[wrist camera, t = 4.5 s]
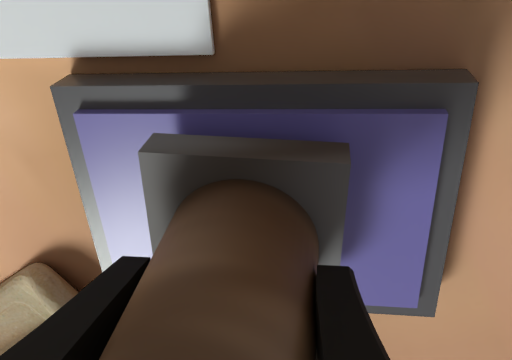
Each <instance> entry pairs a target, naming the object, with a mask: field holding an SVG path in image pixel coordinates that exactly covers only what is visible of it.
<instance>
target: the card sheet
mask: <svg viewBox="0 0 512 360" xmlns="http://www.w3.org/2000/svg"><path fill="white" fill-rule="evenodd" d="M214 53H215V50H214V40H213V30H212V19H211V9H210V0H0V59H11V58H64V57H118V56H171V55H213V54H214Z"/></svg>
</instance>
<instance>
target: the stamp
mask: <svg viewBox="0 0 512 360" xmlns="http://www.w3.org/2000/svg"><path fill="white" fill-rule="evenodd" d="M138 157H139V164H140V171H141V178H142V185H143V192H144V199H145V205H146V212H147V219H148V226H149V233H150V240H151V247H152V253H153V256H152V258H151V260H150V262H149V264H148V266H147V268H146V270H145V272H144V274H143V276H142V277H141V279H140V281H139V283H138V285H137V287H136V289H135V291H134V293H133V295H132V297H131V299H130V301H129V303H128V304H127V306H126V308H125V310H124V312H123V314H122V316H121V318H120V320H119V322H118V324H117V326H116V328H115V330H114V332H113V333H112V335H111V337H110V339H109V341H108V343H107V345H106V347H105V349H104V351H103V353H102V355H101V357H100V359H99V360H316V276H317V265H333V266H340V262H341V252H342V243H343V234H344V224H345V215H346V206H347V197H348V187H349V178H350V169H351V159H350V148H349V143H343V142H323V141H303V140H284V139H264V138H244V137H225V136H205V135H185V134H166V133H153V134H152V135H151V136H150V137H149V139H148V140H147V141H146V142H145V144H144V145H143V146H142V147H141V149H140V150H139V151H138Z"/></svg>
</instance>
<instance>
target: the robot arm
mask: <svg viewBox="0 0 512 360" xmlns="http://www.w3.org/2000/svg"><path fill="white" fill-rule="evenodd" d="M150 260H151V259H150V257H134V256H122V257H121V258H119V259H118V260H117V261H116V262H114V263H113V264H112V265H111V266H109V267H108V268H107V269H106V270H105V271H104V272H102V273H101V274H100V275H99V276H98V277H96V278H95V279H94V280H93V281H92V282H91V283H89V284H88V285H87V286H86V287H85V288H84V289H82V290H81V291H80V292H79V293H78V294H77V295H75V296H74V297H73V298H72V299H71V300H69V301H68V302H67V303H66V304H65V305H63V306H62V307H61V308H60V309H59V310H57V311H56V312H55V313H54V314H53V315H51V316H50V317H49V318H48V319H47V320H45V321H44V322H43V323H42V324H41V325H39V326H38V327H37V328H36V329H34V330H33V331H32V332H30V333H29V334H28V335H26V336H25V337H24V338H23V339H21V340H20V341H19V342H17V343H16V344H15V345H13V346H12V347H11V348H10V349H8V350H7V351H6V352H4V353H3V354H2V355H0V360H99V359H100V357H101V355H102V353H103V351H104V349H105V347H106V345H107V343H108V341H109V339H110V337H111V335H112V333H113V332H114V330H115V328H116V326H117V324H118V322H119V320H120V318H121V316H122V314H123V312H124V310H125V308H126V306H127V304H128V303H129V301H130V299H131V297H132V295H133V293H134V291H135V289H136V287H137V285H138V283H139V281H140V279H141V277H142V276H143V274H144V272H145V270H146V268H147V266H148V264H149V262H150ZM316 360H390V358H389V356H388V354H387V352H386V350H385V348H384V346H383V344H382V342H381V340H380V338H379V336H378V334H377V332H376V330H375V328H374V326H373V323H372V321H371V319H370V317H369V314H368V312H367V309H366V307H365V305H364V302H363V299H362V297H361V294H360V291H359V288H358V285H357V282H356V279H355V275H354V271H353V270H352V269H351V268H350V267H349V266H333V265H317V276H316Z"/></svg>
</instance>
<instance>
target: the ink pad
mask: <svg viewBox="0 0 512 360" xmlns="http://www.w3.org/2000/svg"><path fill="white" fill-rule="evenodd" d="M478 84H479V82H478V81H477V80H476V79H475V78H474V77H473V76H472V74H471V73H470V72H469V71H468V70H467V69H444V70H367V71H290V72H213V73H136V74H69V75H68V76H66V77H64V78H63V79H61V80H60V81H58V82H56V83H55V84H53V85H51V86H50V89H51V92H52V96H53V99H54V103H55V106H56V110H57V113H58V117H59V121H60V124H61V128H62V131H63V135H64V138H65V142H66V145H67V149H68V153H69V156H70V160H71V163H72V167H73V170H74V174H75V177H76V181H77V185H78V188H79V192H80V195H81V199H82V202H83V206H84V209H85V213H86V216H87V220H88V224H89V227H90V231H91V234H92V238H93V241H94V245H95V248H96V252H97V256H98V259H99V263H100V266H101V270H102V272H104V271H105V270H106V269H107V268H108V267H109V266H111V265H112V264H113V263H114V262H116V261H117V260H118V259H119V258H121V257H122V256H134V257H150V259H151V258H152V256H153V253H152V247H151V240H150V233H149V226H148V219H147V212H146V205H145V199H144V192H143V185H142V178H141V171H140V164H139V157H138V151H139V150H140V149H141V147H142V146H143V145H144V144H145V142H146V141H147V140H148V139H149V137H150V136H151V135H152V134H153V133H166V134H185V135H205V136H225V137H244V138H264V139H284V140H303V141H323V142H343V143H349V148H350V159H351V169H350V178H349V187H348V197H347V206H346V215H345V224H344V234H343V243H342V252H341V262H340V266H349V267H350V268H351V269H352V270H353V271H354V275H355V279H356V282H357V285H358V288H359V291H360V294H361V297H362V299H363V302H364V305H365V307H366V309H367V312H368V313H374V314H391V315H407V316H424V317H435V312H436V306H437V301H438V296H439V290H440V285H441V280H442V275H443V269H444V264H445V259H446V253H447V248H448V243H449V237H450V232H451V227H452V222H453V216H454V211H455V206H456V200H457V195H458V190H459V184H460V179H461V174H462V169H463V163H464V158H465V153H466V147H467V142H468V137H469V131H470V126H471V121H472V116H473V110H474V105H475V100H476V94H477V89H478Z"/></svg>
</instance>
